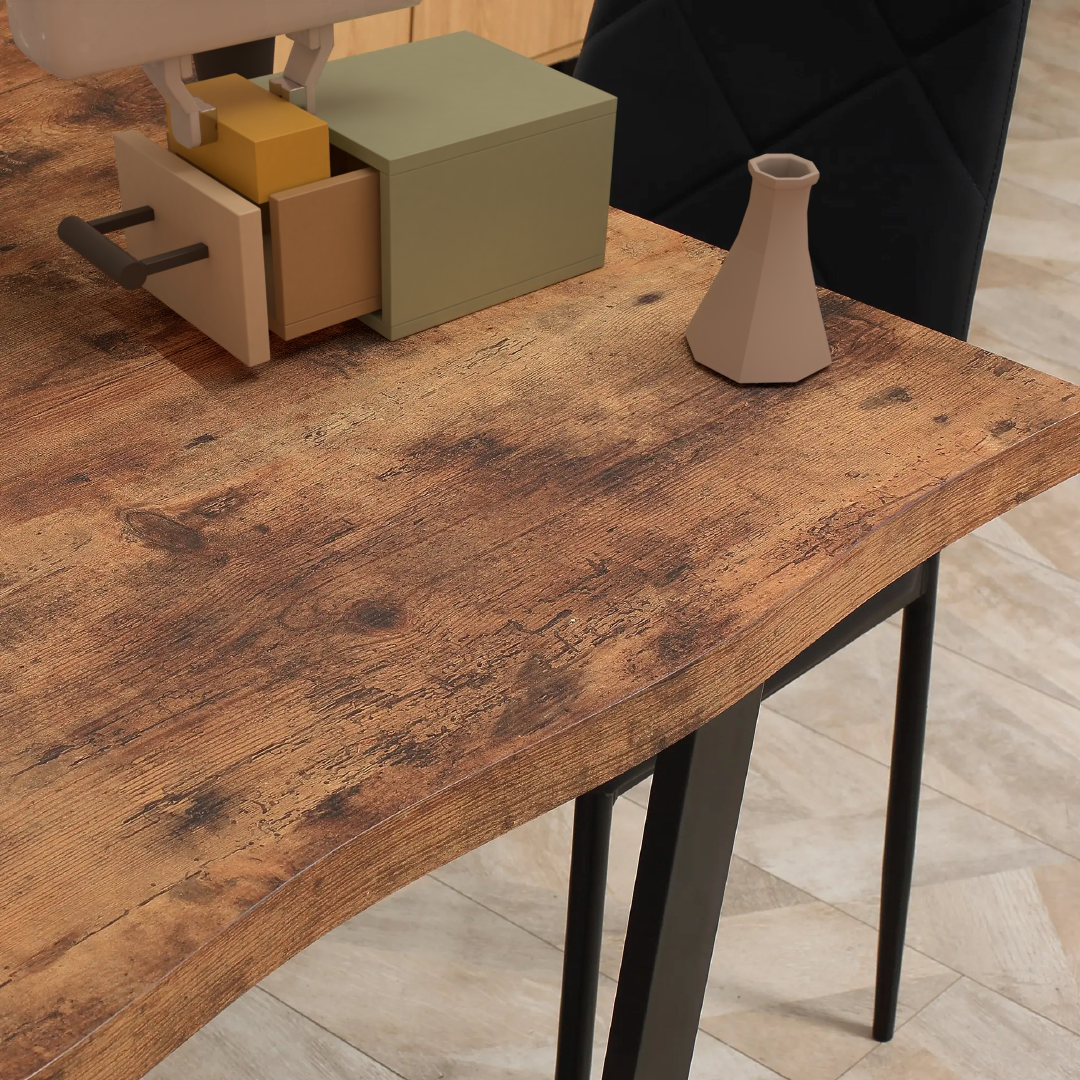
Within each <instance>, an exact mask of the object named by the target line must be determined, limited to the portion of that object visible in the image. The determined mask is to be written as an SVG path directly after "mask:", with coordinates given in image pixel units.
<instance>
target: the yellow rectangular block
mask: <svg viewBox="0 0 1080 1080" xmlns="http://www.w3.org/2000/svg"><path fill="white" fill-rule="evenodd" d="M184 85H185V86H186V88H187V89H188V91H189V92H190V94H191V95H192V97H199V98H200V99H202V100H204V103H209V104H211V105H213V106H214V107H216V108H217V117H218V120H217V125H216V128H217V130H218V140H217V142H214V143H210V144H206V145H203V146H199V147H196V148H192V149H188V148H186V147H184V146H183V145H181V144H180V143H178V142H177V141H176V139H175V138H174V135H173V132H172V125H171V115H170V106H169V104H168V103H167V102H166V101H165V100H164V103H165V111H166V121H167V122H166V123H167V131H168V132H169V141H170V149H171V150H173V151H175V152H176V153H178V154H179V155H181V156H183V157H184V158H186V159H187V160H189V161H191V162H192V163H194V164H195V165H197V166H199V167H200V168H202V169H203V170H205V171H207V172H208V173H210V174H211V175H213V176H215V177H216V178H218V179H219V180H221V181H223V182H224V183H226V184H227V185H229V186H231V187H232V188H234V189H235V190H237V191H239V192H240V193H242V194H243V195H245V196H247V197H248V198H250V199H251V200H253V201H255V202H256V203H258V204H261V203H265V202H269V195H270V194H274V193H278V192H281V191H285V190H288V189H292V188H296V187H299V186H303V185H306V184H310V183H314V182H317V181H321V180H325V179H328V178H330V155H329V131H328V123H327V122H325V121H323V120H321V119H319V118H317V117H316V116H314V115H312V114H310V113H308V112H306V111H305V110H303V109H301V108H299V107H297V106H295V105H294V104H292V103H290V102H288V101H286V100H284V99H282V98H281V97H279V96H277V95H275V94H273V93H271V92H269V91H268V90H266V89H264V88H262V87H260V86H258V85H257V84H255V83H253V82H251V81H249V80H247V79H246V78H244V77H242V76H240V75H238V74H236V73H234V74H230V75H225V76H221V77H217V78H212V79H208V80H204V81H196V82H195V81H194V82H191V83H187V84H184Z"/></svg>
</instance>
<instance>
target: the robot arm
mask: <svg viewBox="0 0 1080 1080" xmlns="http://www.w3.org/2000/svg"><path fill="white" fill-rule="evenodd" d="M422 1H423V0H5V2H6V4H5V5H6V11H7V17H8V24H9V28H10V29H9V30H10V34H11V37H12V40H13V42H14V43H15V45H16V47H17V48H18V49H19V50H20V52H21V53H23V55H24V56H26V58H28V60H30V61H31V62H33V63H34V64H35V65H37V66H38V67H40V68H41V69H43V70H44V71H46V72H48V73H49V74H51V75H53V76H54V77H57V78H58V79H61V80H64V81H74V80H78V79H84V78H87V77H93V76H96V75H101V74H106V73H111V72H115V71H120V70H125V69H130V68H134V67H138V66H141V71H143V73H144V74H145V75H146V77H147V78H148V80H149V81H150V82H151V83H152V85H153V86H154V88H155V89H156V91H157V92H158V93H159V94H160V96H161V97H162V99H163V100H164V102H165V101H166V102H167V103H168V104H169V106H170V115H171V125H172V132H173V135H174V138H175V139H176V141H177V142H178V143H180V144H181V145H183V146H184V147H186V148H188V149H192V148H196V147H199V146H203V145H206V144H210V143H214V142H217V140H218V130H217V128H216V125H217V120H218V117H217V108H216V107H214V106H213V105H211V104H209V103H204V100H202V99H200V98H199V97H192V95H191V94H190V92H189V91H188V89H187V88H186V86H185V85H186V84H185V83H184V82H183V80H182V79H188V78H191V77H193V75H194V73H193V62H192V61H193V58H192V54H195V53H200V52H204V51H209V50H214V49H218V48H223V47H228V46H232V45H237V44H242V43H246V42H251V41H255V40H260V39H265V38H269V37H274V36H276V37H278V36H282V35H283V36H285V37H286V38H287V39H289V40H292V41H293V43H292V47H291V49H290V53H289V55H288V58H287V61H286V64H285V67H284V68H283V69H284V70H283V71H284V72H283V71H282V72H283V76H281V77H277V78H273V79H270V80H269V92H271V93H273V94H275V95H277V96H279V97H281V98H282V99H284V100H286V101H288V102H290V103H292V104H294V105H295V106H297V107H299V108H301V109H303V110H305V111H306V112H308V113H310V114H312V115H314V116H315V113H316V106H315V84H316V83H317V82H318V80H319V78H320V75H321V73H322V71H323V69H324V67H325V64H326V62H328V61H329V58H330V56H331V53H332V51H333V50H334V47H335V30H334V25H335V24H339V23H343V22H349V21H352V20H357V19H361V18H366V17H373V16H375V15H381V14H385V13H389V12H394V11H399V10H400V11H401V10H403V9H408V8H413V7H417V6H419V5H421V3H422Z"/></svg>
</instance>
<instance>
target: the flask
mask: <svg viewBox="0 0 1080 1080" xmlns="http://www.w3.org/2000/svg"><path fill="white" fill-rule="evenodd" d="M747 162H748V163H747V167H748V168H747V169H748V172H749V174H750V176H751V177H752V182H751V189H750V193H749V194H750V195H749V201H748V205H747V207H746V209H745V210H746V211H745V213H744V216H743V219H742V222H741V225H740V228H739V231H738V233H737V236H736V237H735V240H734V242H733V243H732V245H731V247H730V249H729V251H728V253H727V255H726V257H725V258H724V260H723V262H722V264H721V267H720V268H719V270H718V272H717V273H716V276H715V278H714V280H713V281H712V283H711V285H710V287H709V288H708V289H707V292H706V293H705V295H704V297H702V300H701V302H700V304H699V305H698V306H697V309H696V310H695V312H694V314H693V315H692V317H691V319H690V321H689V323H688V325H687V326H686V328H685V330H684V332H683V333H684V335H685V338H686V341H687V343H688V346H689V348H690V351H691V353H692V354H693V355H692V356H693V358H694V361H696V362H698V363H700V364H701V365H703V366H706V367H707V368H709V369H711V370H713V371H715V372H716V373H719V374H721V375H723V376H725V377H726V378H729V379H730V380H733V381H735V382H736V383H738V384H759V383H760V384H762V383H764V384H765V383H797V382H799V381H801V380H803V379H805V378H807V377H809V376H811V375H813V374H814V373H817V372H818V371H820V370H822V369H824V368H826V367H828V366H830V365H832V364H833V361H832V356H831V351H830V345H829V342H828V337H827V334H826V333H827V332H826V329H825V328H826V327H825V324H824V320H823V319H824V318H823V316H822V315H823V314H822V312H821V308H820V303H819V299H818V298H819V297H818V293H817V288H816V282H815V277H814V272H813V266H812V261H811V256H810V251H809V235H808V234H809V233H808V231H809V230H808V208H809V207H808V206H809V201H810V194H811V189H812V186H813V185H815V184H817V183H818V181H819V179H820V172H819V170H818V169H817V167H816V165H815V163H814V162H813V161H811V160H808V159H805V158H803V157H800V156H799V155H795V154H793V153H765V154H762V155H759V156H756V157H753V158H751V159H748V161H747Z"/></svg>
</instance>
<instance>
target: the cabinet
mask: <svg viewBox="0 0 1080 1080" xmlns="http://www.w3.org/2000/svg"><path fill="white" fill-rule="evenodd" d="M283 72H284V70H283V71H280V72H276V73H273V74H270V75H266V76H261V77H257V78H253V79H248V80H249V81H251V82H253V83H255V84H257V85H258V86H260V87H262V88H264V89H266V90H268V91H269V80H270V79H273V78H277V77H281V76H283ZM315 106H316V113H315V116H316V117H317V118H319V119H321V120H323V121H325V122H327V123H328V131H329V143H331V144H333V145H335V146H336V147H338V148H340V149H342V150H344V151H345V152H347V153H349V154H351V155H353V156H354V157H356V158H358V159H360V160H362V161H363V162H365V163H367V164H369V165H370V166H372V167H374V168H376V169H378V170H379V171H381V172H380V202H381V267H382V309H379V310H376V311H373V312H370V313H367V314H364V315H361V316H358V317H355V318H356V319H357V320H358V321H360V322H362V323H363V324H364V325H366V327H367V326H368V328H369V329H370V328H371V329H372V330H373V331H375V332H377V334H379V335H381V336H382V337H384V338H385V339H387V340H388V341H390V342H394V341H397V340H400V339H403V338H407V337H409V336H411V335H414V334H417V333H420V332H423V331H425V330H428V329H431V328H434V327H436V326H437V327H438V326H440V325H441V324H445V323H448V322H451V321H453V320H456V319H458V318H463V317H464V316H468V315H470V314H473V313H476V312H478V311H481V310H485V309H487V308H490V307H493V306H495V305H496V306H497V305H499V304H501V303H504V302H506V301H509V300H510V301H511V300H512V299H514V298H517V297H518V298H519V297H520V296H524V295H526V294H530V293H532V292H534V291H537V290H540V289H543V288H546V287H549V286H552V285H554V284H557V283H560V282H562V281H566V280H568V279H571V278H575V277H576V276H577V277H578V276H580V275H583V274H585V273H588V272H591V271H593V270H596V269H599V268H603V267H604V266H605V260H606V248H607V247H606V246H607V235H608V225H609V224H608V221H609V209H610V198H611V197H610V196H611V187H612V186H611V185H612V184H611V183H612V169H613V158H614V147H615V146H614V144H615V133H616V121H617V109H618V97H617V96H615V95H613V94H611V93H609V92H606V91H604V90H602V89H599V88H597V87H595V86H593V85H591V84H588V83H587V82H584V81H581V80H579V79H577V78H574V77H572V76H570V75H568V74H565V73H563V72H561V71H558V70H556V69H554V68H553V67H550V66H548V65H546V64H543V63H541V62H539V61H537V60H534V59H532V58H530V57H527V56H525V55H523V54H520V53H518V52H516V51H513V50H512V49H509V48H507V47H505V46H502V45H500V44H498V43H496V42H494V41H491V40H489V39H487V38H485V37H482V36H480V35H478V34H475V33H474V32H471V31H468V30H466V29H464V30H460V31H455V32H451V33H447V34H443V35H437V36H433V37H430V38H424V39H420V40H416V41H412V42H408V43H402V44H399V45H394V46H390V47H385V48H381V49H377V50H372V51H367V52H364V53H359V54H355V55H350V56H346V57H341V58H336V59H332V60H327V62H326V64H325V67H324V69H323V71H322V73H321V75H320V78H319V80H318V82H317V83H316V84H315ZM355 318H354V319H355Z"/></svg>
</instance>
